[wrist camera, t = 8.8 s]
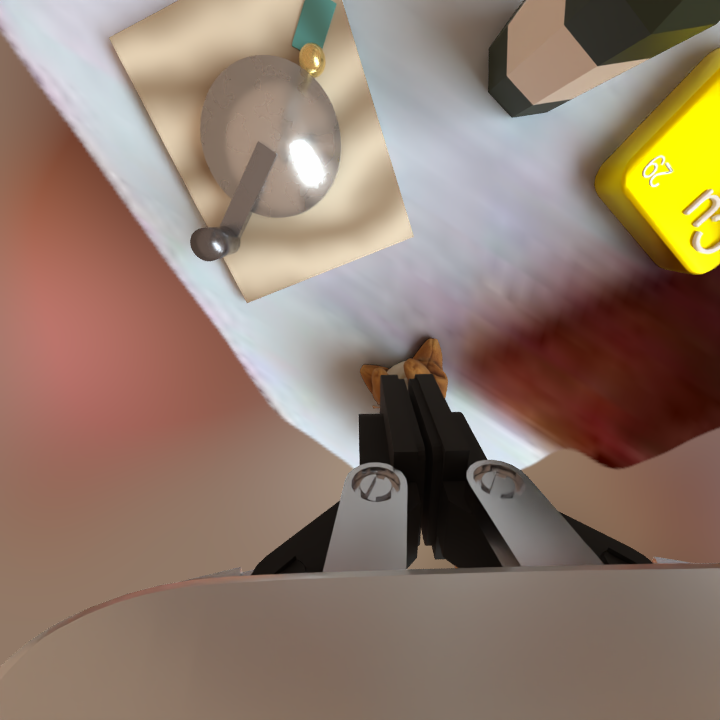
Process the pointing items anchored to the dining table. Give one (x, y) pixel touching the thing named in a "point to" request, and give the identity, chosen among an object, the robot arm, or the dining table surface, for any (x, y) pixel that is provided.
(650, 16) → the wine bottle
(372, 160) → the stand board
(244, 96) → the silver rounded piece
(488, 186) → the dining table surface
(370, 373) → the stuffed squirrel
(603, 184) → the element tile
